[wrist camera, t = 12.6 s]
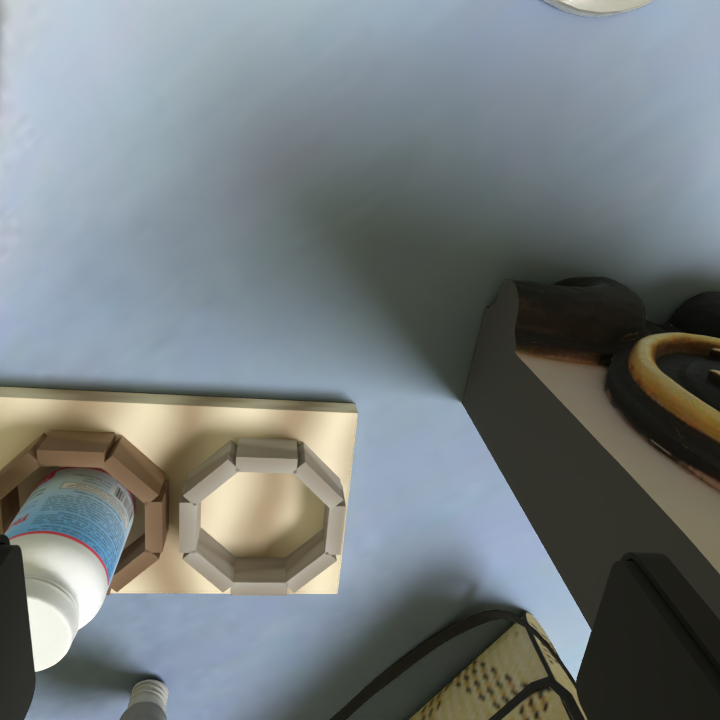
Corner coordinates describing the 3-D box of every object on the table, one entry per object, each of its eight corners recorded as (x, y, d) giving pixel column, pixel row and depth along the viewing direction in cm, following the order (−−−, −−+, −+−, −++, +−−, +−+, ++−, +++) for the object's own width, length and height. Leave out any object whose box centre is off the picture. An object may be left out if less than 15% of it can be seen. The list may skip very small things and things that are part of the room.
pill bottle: (37, 452, 38) (-57, 577, 27) (141, 463, 39) (90, 586, 28) (35, 536, 40) (-53, 683, 29) (135, 544, 41) (85, 688, 30)
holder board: (355, 403, 41) (362, 431, 37) (335, 579, 46) (340, 619, 42) (-7, 386, 38) (-39, 414, 34) (12, 577, 42) (-14, 620, 39)
